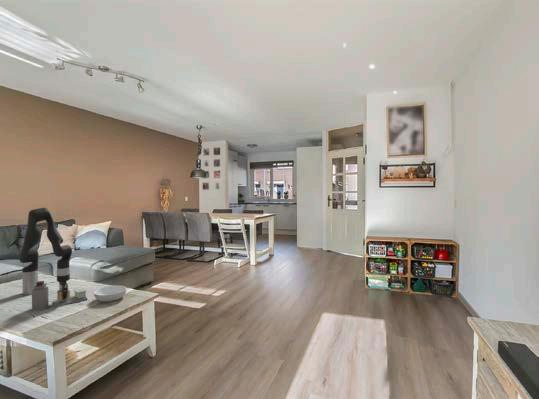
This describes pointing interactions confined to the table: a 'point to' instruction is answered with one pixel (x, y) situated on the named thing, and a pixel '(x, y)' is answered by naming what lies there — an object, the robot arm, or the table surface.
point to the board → (68, 301)
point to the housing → (80, 293)
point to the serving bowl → (110, 293)
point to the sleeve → (60, 295)
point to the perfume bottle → (40, 296)
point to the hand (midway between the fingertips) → (63, 297)
